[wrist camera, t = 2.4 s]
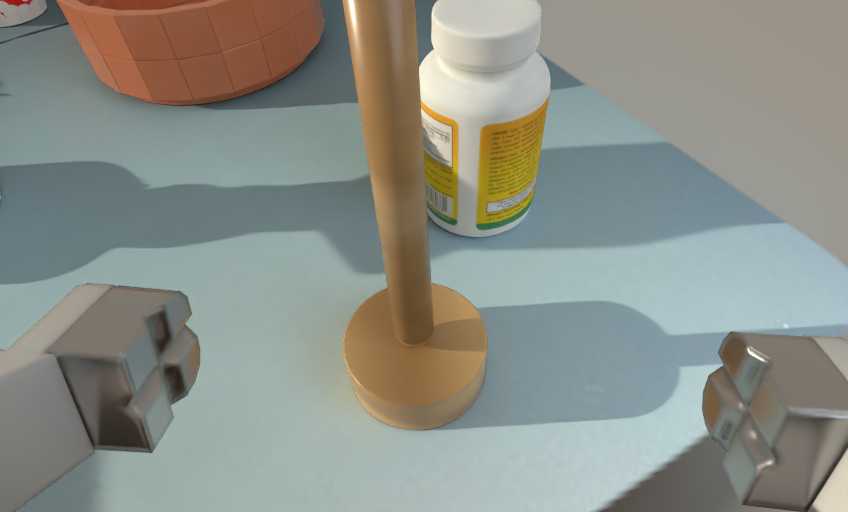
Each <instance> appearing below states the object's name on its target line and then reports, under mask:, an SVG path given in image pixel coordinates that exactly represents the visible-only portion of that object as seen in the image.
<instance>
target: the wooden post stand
mask: <svg viewBox="0 0 848 512" xmlns="http://www.w3.org/2000/svg"><path fill="white" fill-rule="evenodd" d="M342 1H343V7H344V13H345V20H346V26H347V33H348V39H349V45H350V52H351V58H352V64H353V71H354V77H355V84H356V90H357V96H358V103H359V109H360V116H361V122H362V128H363V135H364V141H365V148H366V154H367V160H368V167H369V173H370V180H371V186H372V192H373V199H374V205H375V212H376V218H377V224H378V231H379V237H380V244H381V250H382V256H383V263H384V269H385V275H386V282H387V288H386V289H384V290H382V291H380V292H378V293H376V294H374V295H373V296H372V297H370V298H369V299H367V300H366V301H365V302H364V303H363V304H362V305H361V306H360V307H359V308H358V309H357V310H356V312H355V313H354V315H353V316H352V318H351V320H350V322H349V324H348V326H347V329H346V332H345V336H344V341H343V352H344V358H345V362H346V365H347V369H348V372H349V375H350V379H351V382H352V385H353V389H354V392H355V394H356V396H357V398H358V400H359V401H360V403H361V404H362V406H363V407H364V408H365V409H366V410H367V411H368V412H369V413H370V414H371V415H373V416H374V417H375V418H377V419H378V420H380V421H381V422H383V423H386V424H388V425H390V426H393V427H397V428H401V429H407V430H426V429H431V428H436V427H439V426H442V425H445V424H447V423H449V422H451V421H453V420H455V419H456V418H458V417H459V416H461V415H462V414H463V413H464V412H465V411H466V410H468V409H469V408H470V406H471V405H472V404H473V403H474V402H475V400H476V398H477V397H478V395H479V393H480V391H481V389H482V386H483V383H484V380H485V372H486V360H487V347H488V338H487V331H486V327H485V324H484V321H483V319H482V317H481V315H480V314H479V312H478V311H477V309H476V308H475V307H474V306H473V305H472V304H471V302H470V301H468V300H467V299H466V298H465V297H464V296H462V295H461V294H459V293H458V292H456V291H454V290H452V289H450V288H447V287H444V286H442V285H438V284H433V283H431V268H430V251H429V234H428V217H427V200H426V182H425V165H424V148H423V131H422V114H421V96H420V79H419V62H418V45H417V27H416V10H415V0H342Z"/></svg>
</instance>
